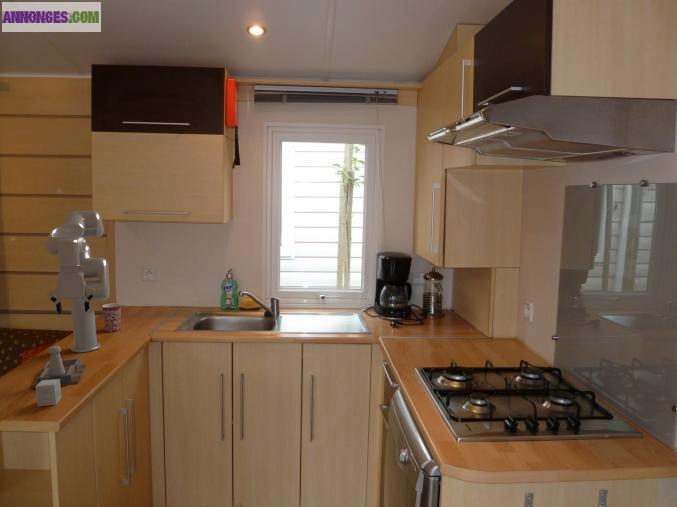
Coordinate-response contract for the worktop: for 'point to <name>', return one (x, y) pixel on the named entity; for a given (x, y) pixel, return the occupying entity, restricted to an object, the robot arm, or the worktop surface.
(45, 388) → the product box
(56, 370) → the salt shaker
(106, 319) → the mug
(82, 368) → the keyhole board
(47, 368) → the keyhole rails
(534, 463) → the worktop surface
